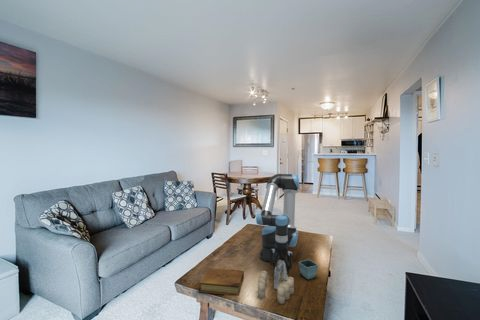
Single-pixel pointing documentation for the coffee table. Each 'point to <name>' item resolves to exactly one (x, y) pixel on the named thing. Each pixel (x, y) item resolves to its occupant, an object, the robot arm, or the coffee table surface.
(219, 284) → the diary
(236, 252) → the coffee table surface
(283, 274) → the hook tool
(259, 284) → the posts
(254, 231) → the coffee table surface
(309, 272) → the flower pot
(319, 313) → the coffee table surface
